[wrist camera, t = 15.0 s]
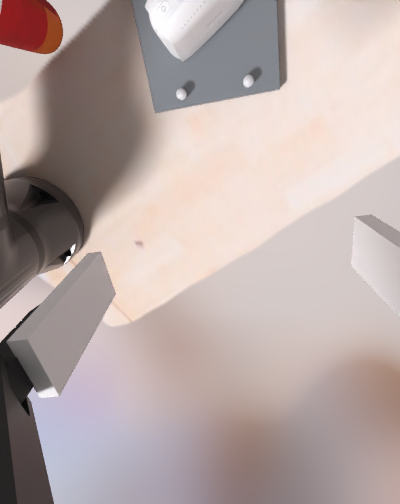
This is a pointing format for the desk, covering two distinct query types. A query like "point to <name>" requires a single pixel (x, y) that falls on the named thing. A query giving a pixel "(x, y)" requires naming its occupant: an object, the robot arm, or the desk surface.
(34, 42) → the paper cup
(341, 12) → the desk surface
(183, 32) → the photo printer
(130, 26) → the desk surface
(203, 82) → the dock plate
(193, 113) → the desk surface
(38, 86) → the desk surface
